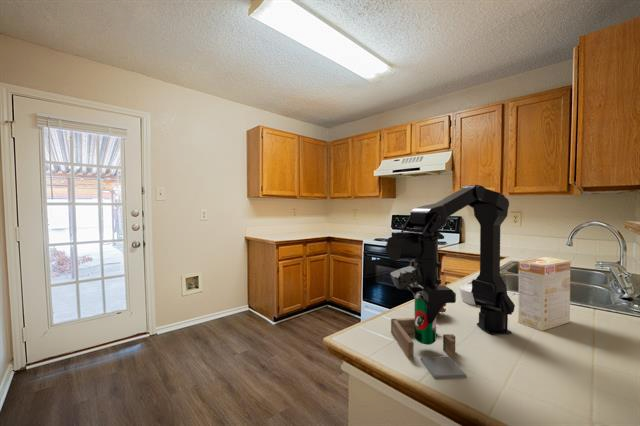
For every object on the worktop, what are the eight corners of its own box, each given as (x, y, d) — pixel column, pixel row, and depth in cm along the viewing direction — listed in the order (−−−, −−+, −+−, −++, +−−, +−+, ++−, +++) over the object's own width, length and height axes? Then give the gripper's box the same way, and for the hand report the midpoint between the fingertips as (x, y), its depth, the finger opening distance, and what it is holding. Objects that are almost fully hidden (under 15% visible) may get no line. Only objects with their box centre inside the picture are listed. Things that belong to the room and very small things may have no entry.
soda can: (437, 346, 66) (438, 297, 66) (415, 344, 67) (416, 296, 67) (433, 336, 71) (433, 291, 71) (413, 335, 72) (413, 290, 72)
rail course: (434, 331, 79) (434, 317, 79) (460, 357, 66) (460, 341, 66) (391, 332, 79) (391, 318, 79) (408, 358, 65) (408, 342, 65)
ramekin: (465, 306, 99) (465, 292, 99) (454, 296, 110) (454, 283, 110) (498, 308, 98) (499, 293, 97) (484, 297, 109) (484, 284, 108)
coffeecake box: (544, 314, 91) (545, 256, 91) (571, 322, 85) (572, 260, 84) (516, 322, 86) (517, 260, 85) (542, 331, 79) (543, 264, 79)
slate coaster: (449, 358, 65) (449, 356, 65) (466, 377, 58) (466, 374, 58) (420, 359, 65) (420, 357, 65) (434, 378, 58) (434, 375, 58)
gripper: (383, 251, 78) (383, 305, 78) (406, 266, 59) (406, 337, 59) (422, 251, 78) (422, 305, 78) (457, 265, 59) (456, 336, 60)
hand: (425, 318), depth 69 cm, fingers closed on soda can, 5 cm apart
